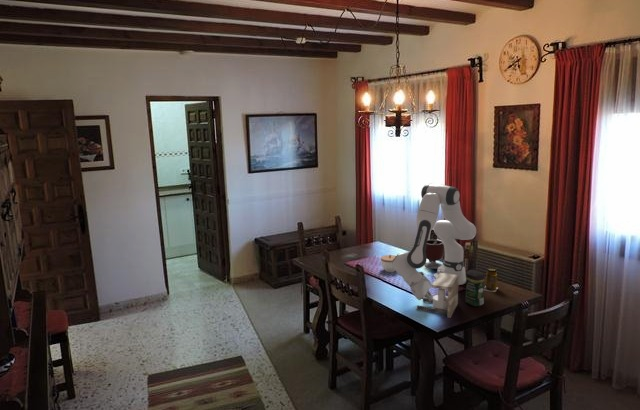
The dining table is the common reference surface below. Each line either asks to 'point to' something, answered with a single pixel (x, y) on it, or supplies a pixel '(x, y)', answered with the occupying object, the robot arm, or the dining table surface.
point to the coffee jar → (474, 288)
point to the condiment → (491, 280)
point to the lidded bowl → (387, 263)
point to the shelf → (451, 285)
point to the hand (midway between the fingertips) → (432, 299)
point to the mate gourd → (434, 253)
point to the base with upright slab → (440, 300)
